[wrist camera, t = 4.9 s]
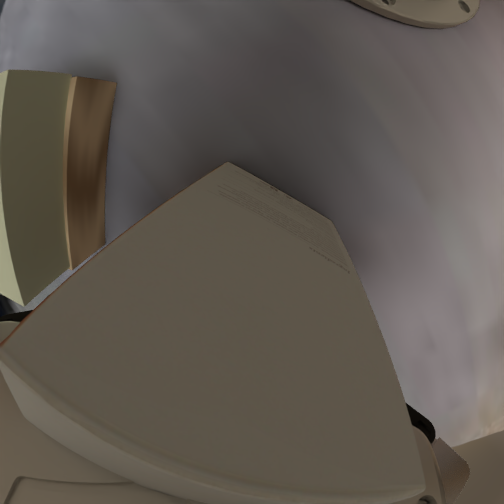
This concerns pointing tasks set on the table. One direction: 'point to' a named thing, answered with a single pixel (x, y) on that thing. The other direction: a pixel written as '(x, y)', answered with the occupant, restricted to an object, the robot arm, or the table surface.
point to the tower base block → (86, 165)
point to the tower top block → (32, 181)
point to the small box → (221, 357)
